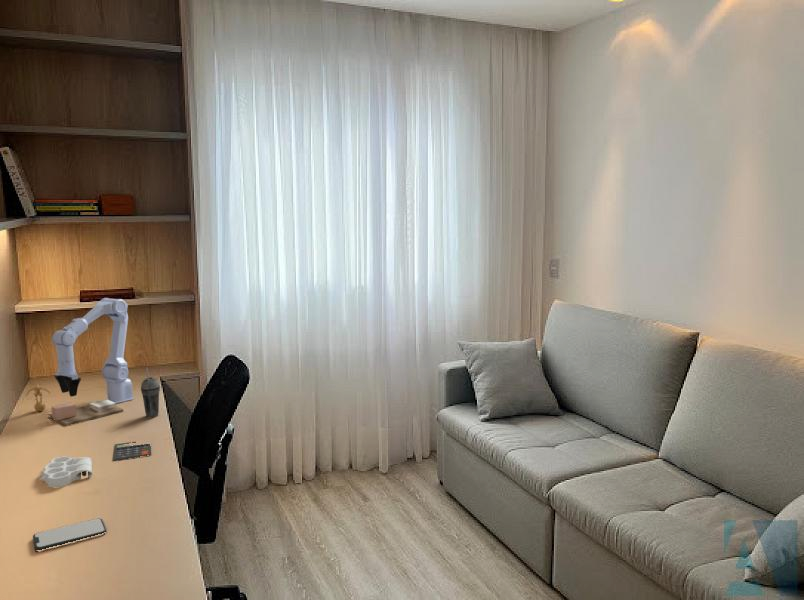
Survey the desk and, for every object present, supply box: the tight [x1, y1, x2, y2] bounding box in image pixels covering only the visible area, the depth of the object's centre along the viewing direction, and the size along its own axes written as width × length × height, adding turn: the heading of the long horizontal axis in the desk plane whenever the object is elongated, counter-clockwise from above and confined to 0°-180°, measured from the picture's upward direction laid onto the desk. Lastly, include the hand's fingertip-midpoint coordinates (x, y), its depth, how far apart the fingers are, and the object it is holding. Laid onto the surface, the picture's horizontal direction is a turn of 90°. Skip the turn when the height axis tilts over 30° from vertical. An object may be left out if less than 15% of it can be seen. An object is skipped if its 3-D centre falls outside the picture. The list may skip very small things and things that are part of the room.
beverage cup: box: [140, 367, 161, 418], centre depth 250 cm, size 7×7×20 cm
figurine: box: [26, 383, 51, 412], centre depth 256 cm, size 8×6×12 cm
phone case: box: [32, 518, 107, 551], centre depth 161 cm, size 9×2×16 cm
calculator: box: [112, 441, 152, 462], centre depth 216 cm, size 12×1×15 cm
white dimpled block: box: [38, 455, 93, 488], centre depth 197 cm, size 3×18×15 cm
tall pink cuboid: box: [51, 401, 77, 421], centre depth 247 cm, size 7×5×4 cm
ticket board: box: [49, 398, 124, 427], centre depth 253 cm, size 22×16×3 cm
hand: (69, 394), depth 250 cm, fingers open, 7 cm apart
